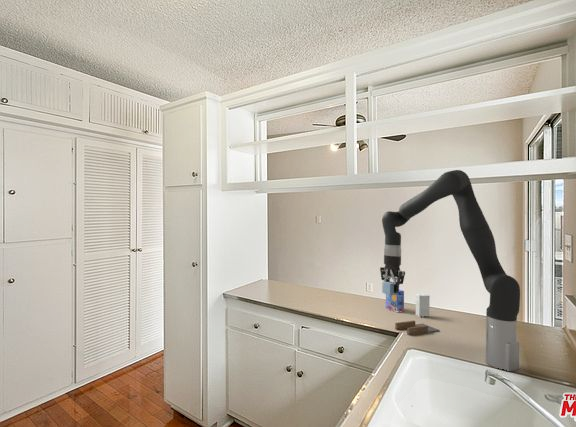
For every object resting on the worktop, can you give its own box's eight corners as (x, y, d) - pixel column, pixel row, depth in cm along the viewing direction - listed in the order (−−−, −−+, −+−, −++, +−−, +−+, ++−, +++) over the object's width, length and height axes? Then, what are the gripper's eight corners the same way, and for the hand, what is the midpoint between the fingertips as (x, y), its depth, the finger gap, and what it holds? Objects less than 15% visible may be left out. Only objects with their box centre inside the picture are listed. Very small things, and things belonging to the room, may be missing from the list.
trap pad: (439, 331, 148) (439, 330, 148) (430, 332, 145) (430, 331, 145) (422, 324, 157) (422, 323, 157) (413, 325, 154) (413, 324, 154)
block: (398, 294, 141) (398, 283, 141) (389, 295, 139) (390, 284, 139) (390, 292, 145) (390, 281, 145) (382, 292, 143) (382, 281, 143)
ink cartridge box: (384, 308, 186) (385, 284, 187) (391, 307, 189) (392, 283, 189) (397, 312, 177) (397, 287, 178) (404, 311, 180) (404, 286, 180)
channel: (427, 332, 146) (427, 325, 146) (408, 335, 141) (408, 328, 141) (413, 326, 153) (413, 320, 153) (395, 329, 148) (395, 322, 148)
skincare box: (425, 315, 174) (425, 293, 175) (429, 317, 170) (430, 295, 170) (414, 315, 174) (415, 293, 174) (419, 317, 169) (419, 295, 170)
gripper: (375, 253, 148) (374, 288, 147) (397, 256, 135) (396, 295, 134) (387, 253, 151) (386, 288, 150) (410, 256, 138) (409, 294, 137)
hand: (391, 291), depth 142 cm, fingers closed on block, 5 cm apart
